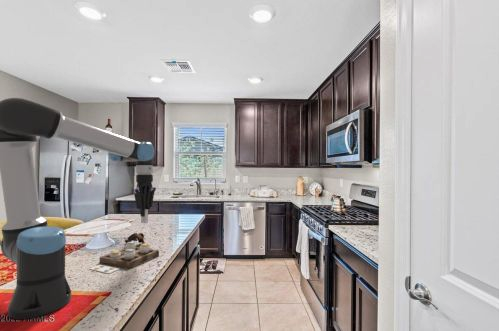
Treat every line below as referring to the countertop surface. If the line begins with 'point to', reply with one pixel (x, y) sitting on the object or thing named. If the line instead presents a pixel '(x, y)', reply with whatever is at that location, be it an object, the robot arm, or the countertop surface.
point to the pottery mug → (135, 237)
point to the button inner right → (129, 254)
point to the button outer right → (145, 248)
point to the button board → (132, 262)
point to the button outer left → (131, 245)
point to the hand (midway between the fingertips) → (144, 222)
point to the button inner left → (115, 254)
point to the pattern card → (104, 269)
